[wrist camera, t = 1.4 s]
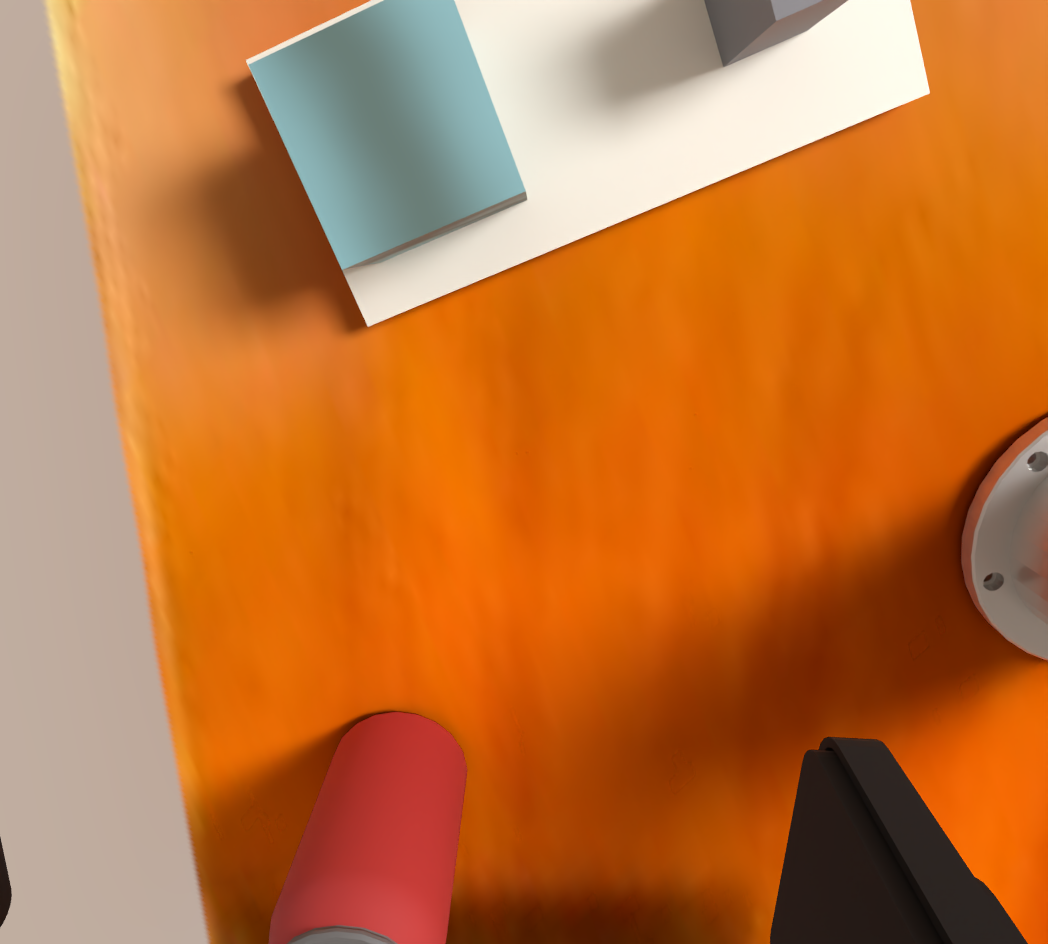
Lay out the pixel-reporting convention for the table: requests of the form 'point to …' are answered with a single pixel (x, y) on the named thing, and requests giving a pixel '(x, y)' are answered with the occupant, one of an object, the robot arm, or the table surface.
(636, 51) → the strip
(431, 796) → the beer can
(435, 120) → the block
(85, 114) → the table surface
